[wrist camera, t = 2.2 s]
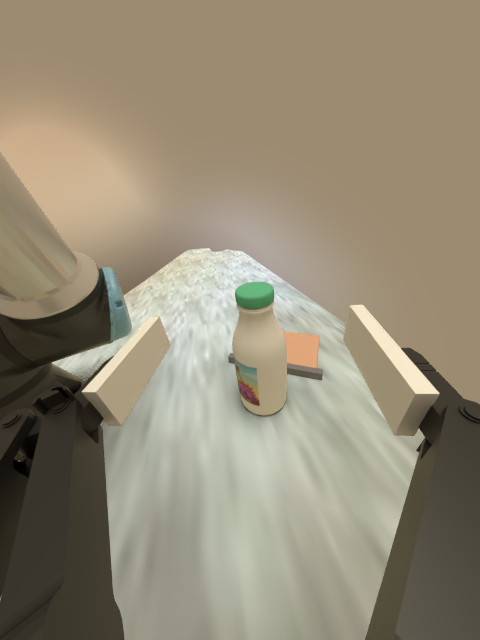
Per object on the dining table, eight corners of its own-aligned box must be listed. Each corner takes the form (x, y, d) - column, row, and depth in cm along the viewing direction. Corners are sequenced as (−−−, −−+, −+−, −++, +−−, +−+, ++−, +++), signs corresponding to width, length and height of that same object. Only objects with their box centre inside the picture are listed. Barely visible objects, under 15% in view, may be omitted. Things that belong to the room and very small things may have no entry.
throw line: (229, 362, 42) (228, 357, 41) (231, 358, 43) (230, 353, 42) (321, 380, 35) (322, 374, 35) (321, 375, 36) (322, 369, 35)
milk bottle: (279, 374, 37) (277, 272, 27) (293, 412, 31) (297, 296, 20) (238, 381, 37) (220, 281, 27) (244, 421, 31) (222, 309, 20)
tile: (237, 356, 43) (237, 354, 43) (251, 329, 51) (251, 327, 50) (316, 370, 37) (316, 368, 37) (319, 337, 45) (319, 335, 45)
